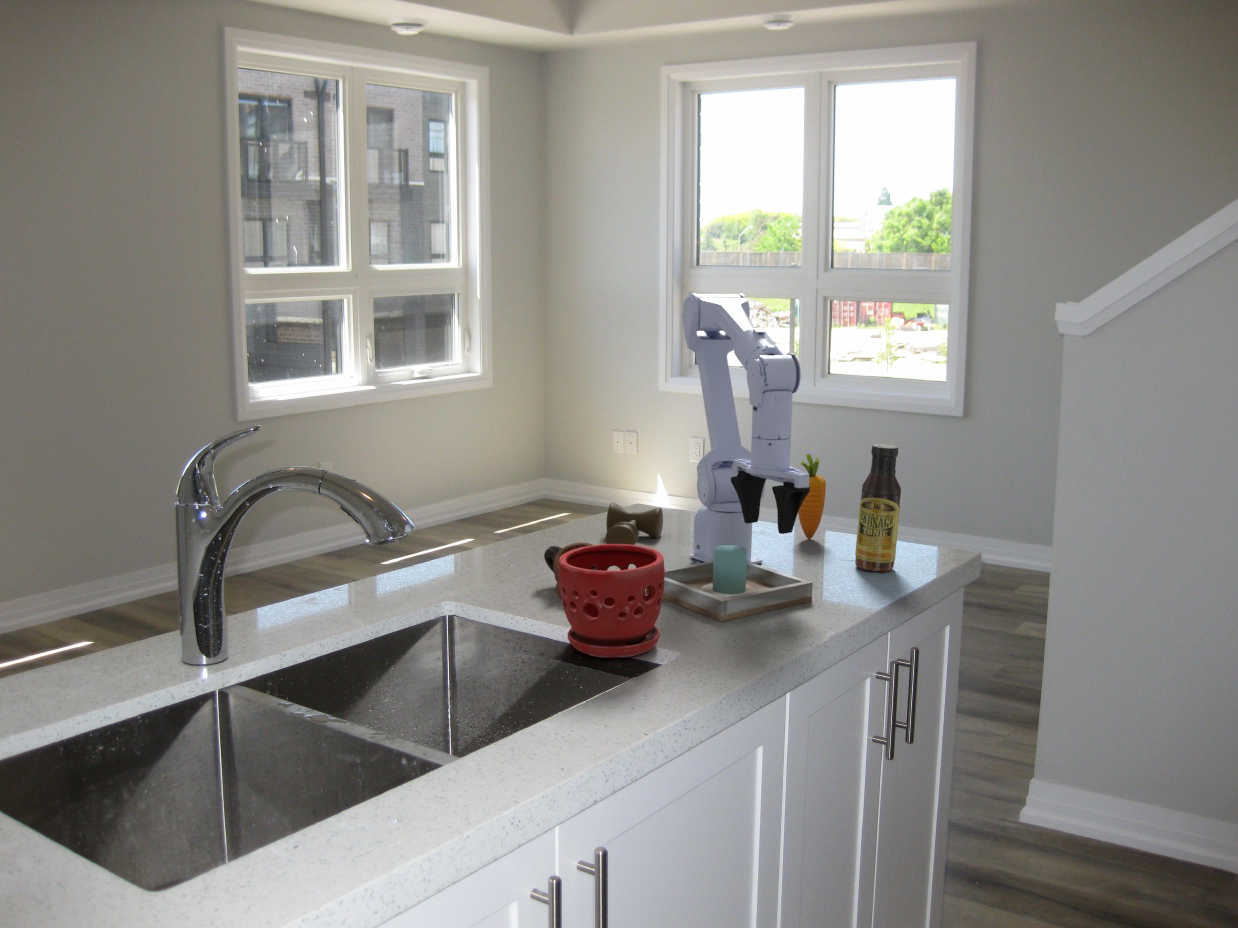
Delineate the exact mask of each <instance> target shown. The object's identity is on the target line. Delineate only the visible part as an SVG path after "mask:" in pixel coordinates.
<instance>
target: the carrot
mask: <svg viewBox="0 0 1238 928" xmlns="http://www.w3.org/2000/svg"><path fill="white" fill-rule="evenodd" d="M806 459H807V462H808V463H806V462H805V461H801V462H800V465H801V466H803V467H804V468H805V470H806V473H808V474H809V487H810V492H809V493H808V495H807V496H806V498H805V499H804V501H803V503H802V505H801V507H800V509H799V511H798V514H797V515H798V519H799V523H800V527H801V529H802V531H803V533H804V536H805V537H806V539H807V540H811V539H812V538H813V537H814V536H815V534H816V532H817V530H818V528H819V527H820V524H821V521H822V517H823V513H824V508H825V501H826V489H827V488H826V487H827V482H826V479H825V478H824V477H822V476H820V475H818V474H817V472H818V469H819V467H820V466H819V465H820V464H819V463H820V459H819V458H817V457H816V458H814V461H813V458H812V454H810V453H807V454H806Z"/></svg>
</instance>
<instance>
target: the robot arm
mask: <svg viewBox="0 0 1238 928" xmlns="http://www.w3.org/2000/svg"><path fill="white" fill-rule="evenodd" d="M750 311H751V309H750V303H749V300H748V298H747V297H746V296H745V294H744V293H742V292H741V293H739V292H738V293H695V292H691V293H688V295H687V296H686V297H685V299H684V302H683V307H682V314H681V315H682V316H681V320H682V325H683V326H682V327H683V333H684V338H685V342H686V347H687V349H688V350H690V351H691V352H693V353H694V354H695V356H696V361H697V366H698V373H699V374H698V375H699V379H700V385H701V391H702V392H701V393H702V398H703V406H704V411H705V418H706V424H707V431H708V437H709V438H708V439H709V442H710V443H709V444H710V450H709V451H708V452H707V453H706V454H705V455H703V456H702V457H701V459H700V460H699V461H698V464H697V466H696V473H697V474H696V475H697V481H696V490H697V496H698V499H699V502H701V504H702V505H701V506H700V507H699V509H698V510H697V511H696V513H695V516H694V522H693V523H694V524H693V525H694V526H693V553H690V554H689V557H690V558H692V559H695V560H697V561H701V562H702V563H705V562H711V561H713V552H714V548H715V547H717V546H722V545H734V546H741V547H744V548H746V549H747V561H748V562H751V563H754V564H757V565H758V564H762V563H763V559H762V558H759V557H756V556H752V547H753V546H752V542H753V524H755V523H759V518H760V512H761V511H760V510H761V509H760V508H761V502H762V500H763V498H764V496H765V492H766V481H767V480H770V481H773V482H776V483H782V485H775V486H772V487H771V489H772V492H773V495H774V499H775V503H776V509H777V531H778V534H780V535H781V534H782V535H784V534H789V533H790V534H791V533H793V530H794V527H795V523H796V520H797V516H798V515H799V514H798V511H799V509H800V507H801V505H802V503H803V501H804V499H805V498H806V496H807V495H808V493H809V492H810V487H809V474H808V472H804V471H802V470H799V469H797V468H795V467H793V466H791V442H792V439H791V438H792V420H793V419H792V417H793V395H794V394H795V393H796V392H798V390H799V388H800V384H801V380H802V379H801V378H802V372H801V371H802V370H801V365H800V362H799V359H798V357H797V356H796V354H795V353H791V352H790V353H786V352H782V351H781V350H780V349H779V347H778V346H777V345H776V344H775V342H774V341H773V340H772V338H771V337H770V335H768V333H767V332H766V331H765V329H764V328H756V327H754V325H753V323H752V321H751V320H750V313H751V312H750ZM732 351H733V352H734V355H735V357H736V358H737V360H738V361H739V363H740V364H741V365H742V367H743V368H744V370H745V371H746V383H747V387H748V392H749V396H748V397H749V398H748V400H749V404H750V406H752V411H751V412H752V413H751V414H752V415H751V416H752V417H751V418H752V419H751V439H750V440H751V446H750V450H749V449H747V448H746V447H745V446H743V445H742V441H741V435H740V429H739V428H740V427H739V423H738V419H737V418H738V417H737V411H736V405H735V397H734V393H733V387H732V381H731V379H732V378H731V374H730V368H729V361H728V354H729V353H730V352H732Z"/></svg>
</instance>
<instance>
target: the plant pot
mask: <svg viewBox="0 0 1238 928" xmlns="http://www.w3.org/2000/svg"><path fill="white" fill-rule="evenodd" d="M558 564H559V586H560V593H561V597H560V599H561V603H562V608H563V610H564V614H565V616H566V619H567V621H568V624H569V625H570V629H568V631H567V640H568V641H569V643H570V645H571V646H572V647H573V648H574V649H575V650H577V651H579V652H581V653H582V654H585V655H588V656H591V657H594V658H595V657H596V658H604V659H605V658H608V659H617V658H623V659H629V658H631V657H634V656H637V655H641V654H643V653H646V652H648V651H650V650H651V649H652V648H654V646H656V644H657V643H658V641H659V639H660V636H661V632H660V630H659V628H658V626H656V622H657V620H658V618H659V616H660V613H661V609H662V606H663V599H664V598H663V593H664V576H665V570H666V569H665V558H664V555H663V554H662V553H661V552H660V551H658V550H656V549H654V548H651V547H648V546H642V545H637V544H635V545H629V544H606V543H602V544H601V543H600V544H592V546H586V547H581V548H577V549H574V550H571V551H569V552H566V553H564V554H563V555H562V556H561V557H560V558H559V562H558ZM630 565H634V566H635V567H634V568H629V566H630ZM593 566H596V567H597V568H598V570H590V568H591V567H593ZM611 567H616V568H618V570H608V569H610V568H611ZM607 570H608V571H607ZM646 588H648V590H649V593H648V592H646ZM647 593H648V594H647Z"/></svg>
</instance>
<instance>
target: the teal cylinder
mask: <svg viewBox="0 0 1238 928" xmlns="http://www.w3.org/2000/svg"><path fill="white" fill-rule="evenodd" d="M746 565H747V549H746V548H744V547H741V546H734V545H722V546H717V547H715V548H714V552H713V590H714V591H715V592H718V593H722V594H740V593H743V592H745V591H746Z"/></svg>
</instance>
